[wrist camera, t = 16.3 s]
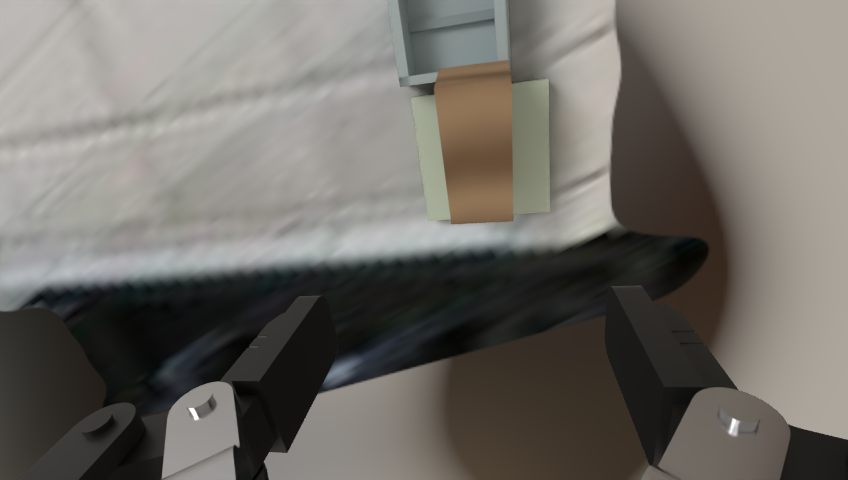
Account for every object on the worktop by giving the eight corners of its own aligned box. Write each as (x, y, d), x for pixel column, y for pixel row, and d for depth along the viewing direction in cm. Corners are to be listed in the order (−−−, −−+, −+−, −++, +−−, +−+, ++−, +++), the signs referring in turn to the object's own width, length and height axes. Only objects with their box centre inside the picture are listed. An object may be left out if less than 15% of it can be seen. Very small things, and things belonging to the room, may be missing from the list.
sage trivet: (413, 96, 31) (410, 97, 30) (546, 78, 29) (548, 79, 28) (430, 215, 35) (428, 220, 34) (548, 206, 33) (550, 211, 32)
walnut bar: (439, 68, 27) (433, 88, 24) (508, 59, 26) (511, 79, 23) (454, 195, 33) (451, 224, 30) (510, 191, 32) (513, 221, 29)
